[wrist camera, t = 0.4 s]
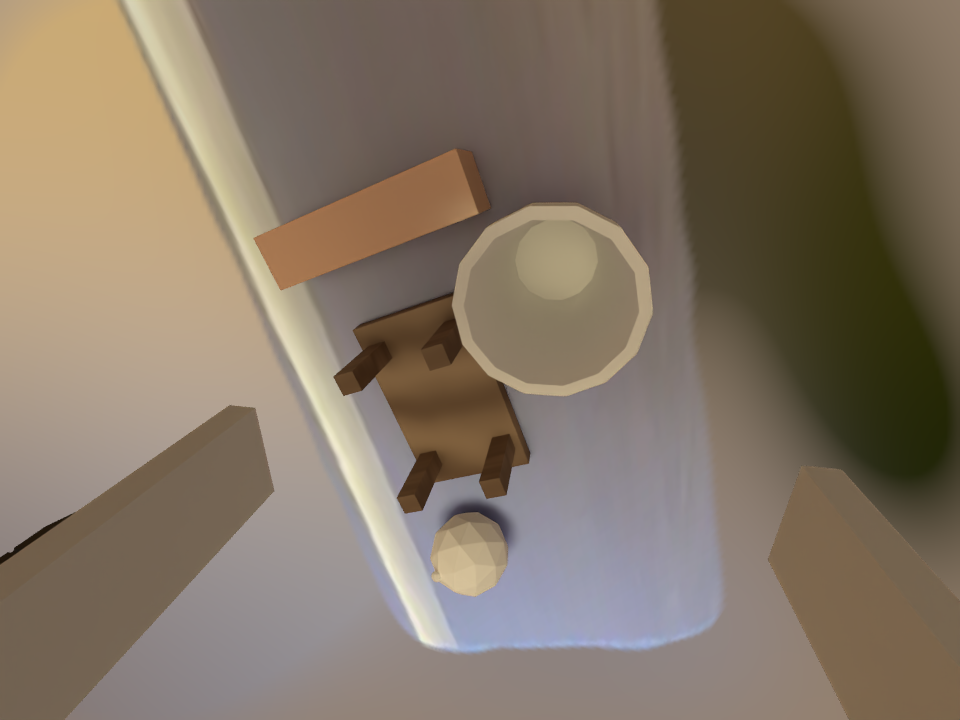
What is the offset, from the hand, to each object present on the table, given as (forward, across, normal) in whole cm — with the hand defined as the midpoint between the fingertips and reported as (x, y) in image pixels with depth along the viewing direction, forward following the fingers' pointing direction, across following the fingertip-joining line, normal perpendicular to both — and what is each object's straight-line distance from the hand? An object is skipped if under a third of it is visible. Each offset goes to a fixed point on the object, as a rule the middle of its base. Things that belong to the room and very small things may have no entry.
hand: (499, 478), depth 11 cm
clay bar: (+25, -12, +3) cm, 28 cm away
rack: (+25, -8, -11) cm, 28 cm away
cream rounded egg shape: (+25, -5, -26) cm, 36 cm away
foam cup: (+25, +1, +1) cm, 25 cm away
